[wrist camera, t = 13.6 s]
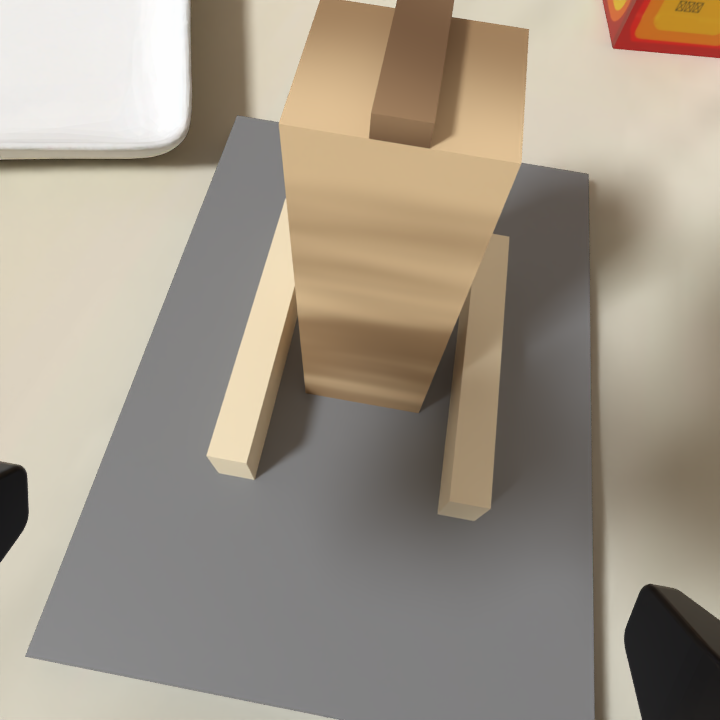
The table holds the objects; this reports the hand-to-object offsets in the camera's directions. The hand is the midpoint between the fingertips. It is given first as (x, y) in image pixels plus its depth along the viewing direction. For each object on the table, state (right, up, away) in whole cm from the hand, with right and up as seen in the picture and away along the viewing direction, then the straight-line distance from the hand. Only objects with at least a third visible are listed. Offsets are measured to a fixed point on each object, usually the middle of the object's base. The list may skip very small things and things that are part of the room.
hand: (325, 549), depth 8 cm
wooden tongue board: (+1, +3, +12) cm, 12 cm away
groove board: (+1, +2, +13) cm, 13 cm away
